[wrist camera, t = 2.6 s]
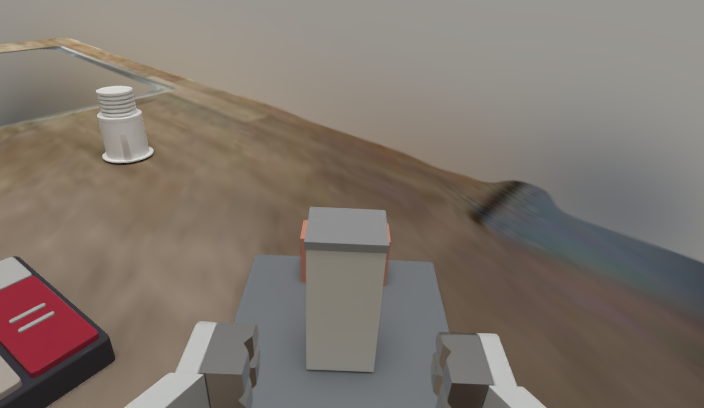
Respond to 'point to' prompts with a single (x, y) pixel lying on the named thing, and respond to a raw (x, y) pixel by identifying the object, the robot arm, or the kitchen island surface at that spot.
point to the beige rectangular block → (344, 287)
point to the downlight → (121, 126)
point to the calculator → (43, 340)
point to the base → (343, 386)
